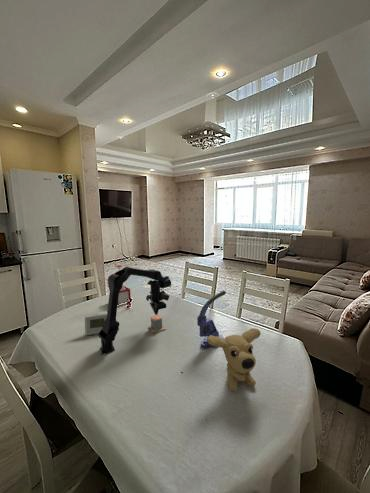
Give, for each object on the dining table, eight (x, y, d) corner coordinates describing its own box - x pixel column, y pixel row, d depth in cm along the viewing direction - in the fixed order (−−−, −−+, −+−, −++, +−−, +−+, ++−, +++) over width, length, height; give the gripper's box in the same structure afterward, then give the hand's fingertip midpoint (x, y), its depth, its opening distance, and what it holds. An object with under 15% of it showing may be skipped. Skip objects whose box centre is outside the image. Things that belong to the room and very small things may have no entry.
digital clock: (83, 336, 137) (82, 319, 135) (88, 328, 146) (87, 312, 144) (112, 334, 139) (111, 317, 137) (115, 327, 147) (114, 311, 146)
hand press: (205, 352, 120) (205, 300, 115) (194, 345, 127) (193, 295, 122) (230, 340, 131) (230, 292, 127) (218, 333, 138) (219, 288, 134)
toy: (219, 405, 87) (220, 356, 84) (201, 371, 106) (201, 330, 103) (276, 390, 94) (278, 344, 91) (249, 361, 113) (251, 322, 110)
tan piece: (165, 329, 143) (164, 320, 142) (152, 333, 140) (152, 324, 139) (160, 324, 150) (159, 315, 149) (148, 327, 146) (147, 318, 146)
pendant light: (124, 298, 195) (122, 263, 191) (130, 302, 187) (128, 266, 182) (111, 302, 188) (109, 266, 184) (117, 306, 180) (115, 268, 175)
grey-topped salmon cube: (162, 328, 144) (161, 318, 143) (154, 330, 141) (153, 320, 140) (158, 324, 148) (158, 314, 147) (151, 326, 146) (150, 316, 145)
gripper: (174, 292, 137) (174, 317, 139) (161, 284, 153) (162, 306, 155) (156, 296, 132) (157, 322, 134) (145, 286, 148) (146, 310, 150)
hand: (156, 314), depth 144 cm, fingers closed
